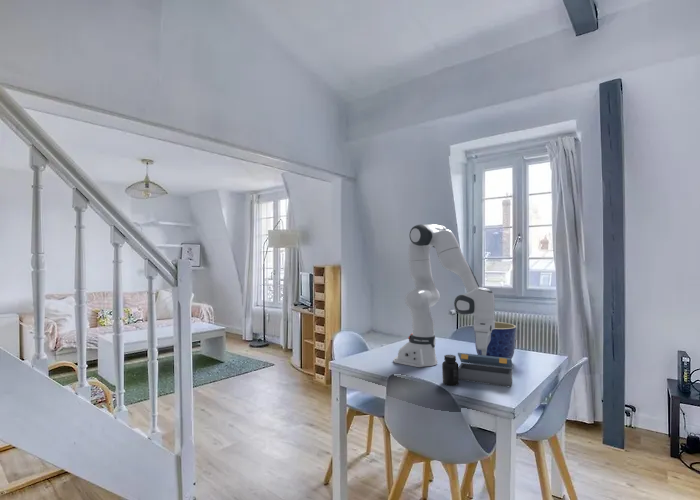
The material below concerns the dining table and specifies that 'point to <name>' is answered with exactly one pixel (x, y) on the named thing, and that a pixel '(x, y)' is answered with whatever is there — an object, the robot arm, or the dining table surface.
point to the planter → (501, 341)
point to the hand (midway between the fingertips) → (484, 355)
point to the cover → (485, 360)
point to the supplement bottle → (450, 371)
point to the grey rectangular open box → (485, 374)
